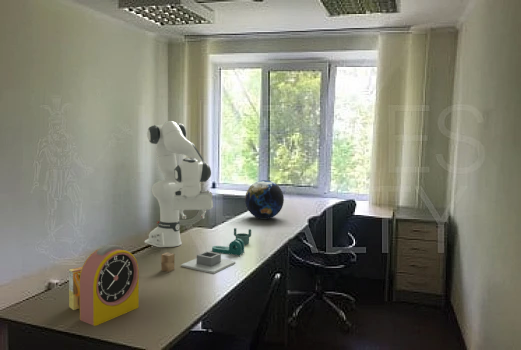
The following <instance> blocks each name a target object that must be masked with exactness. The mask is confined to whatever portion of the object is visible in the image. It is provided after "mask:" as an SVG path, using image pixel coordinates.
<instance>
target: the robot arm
mask: <svg viewBox="0 0 521 350" xmlns="http://www.w3.org/2000/svg"><path fill="white" fill-rule="evenodd" d="M146 137H147V140H148V142H149V143H150V144H153V145H156V159H157V160H156V161H157V170H158V171H159V172H160V173H161V174H162V175H163V177H164V179H162V180H161V179H160V180H159V181H156V182H155V183H153V184H152V187H151V193H152V195H153V197H154V198H155V199H156V201H158V205H159V213H160V214H159V215H160V219H159V220H158V221H157V222H156V225H157V226H156V227H155V228H153V229H152V230H151V231H150V232H149V233H148V238H147V239H145V240H144V241H143V242H144V243H145V244H148V245H151V246H153V247H157V248H173V247H179V246H182V239H181V234H180V233H181V231H180V230H181V229H180V228H181V220H180V216H181V218H182V220H186V219H187V214H184V211H202V212H201V213H202V214H200V219H201V220H204V219H205V214H206V213H207V211H209V210H210V211H211V210H212V209H213V208H214V202H213V193H212V191H210V190H201V189H202V188H201V183H204V182H205V183H206V182H207V181H208V180H209V179H210V178H211V176H212V170H211V167H210V165H209V164H208V162H206V161H205V159H204V157H203V156H202V154H201V153H200V151H199V149H198V148H197V147H196V145H195V144H194V142H192V141H190V140H188V138H187V128H186V127H185V125H184V124H183V123H178V122H176V121H173V120H169V121H166V122H164V123H163V124H158V125H155V124H154V125H151V126H149V127H148V129H147V133H146ZM177 155H183V156H187V157H185V158H183V159H181V163H180V164H178V161H177Z"/></svg>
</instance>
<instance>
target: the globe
mask: <svg viewBox="0 0 521 350" xmlns="http://www.w3.org/2000/svg"><path fill="white" fill-rule="evenodd" d="M284 200H285V199H284V193H283V191H282V189H281V188H280V186H279V185H278V184H277V183H275V182H273V181H271V180H265V179H262V180H258V181H256V182H254V183H252V184H251V185H250V186H249V187H248V189H247V190H246V193H245V198H244V201H245V206H246V208H247V210H248V212H249V213H250V214H251V215H252V216H254V217H255V218H257V219H261V220H269V219H272V218H274V217H275V216H277V215H278V214H279V213H280V212H281V211H282V209H283V206H284V202H285V201H284Z"/></svg>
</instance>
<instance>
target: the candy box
mask: <svg viewBox="0 0 521 350" xmlns="http://www.w3.org/2000/svg"><path fill="white" fill-rule="evenodd" d="M82 267H83V266H80V267H75V268H70V269H68V298H69V299H68V303H69V304H68V307H69V309H71V310H73V311H76V310H80V290H79V280H80V273H81V270H82Z"/></svg>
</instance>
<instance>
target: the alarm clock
mask: <svg viewBox="0 0 521 350" xmlns="http://www.w3.org/2000/svg"><path fill="white" fill-rule="evenodd" d="M81 267H82V270H81V273H80V280H79V290H80V308H79V321H81V322H84V323H85V324H89V325H91V326H94V327H95V326H99V325H101V324H104V323H106V322H108V321H110V320H113V319H115V318H118V317H120V316H122V315H125V314H127V313H129V312H132V311H134V310H136V309H139V307H140V306H139V304H140V303H139V301H140V300H139V299H140V298H139V297H140V296H139V289H140V278H139V277H140V276H139V275H140V274H139V270H140V269H139V264H138V261H137V258H136V257H135V256H134V254H132V252H130V251H128V250H125V249H124V248H123V246H121V245H117V244H106V245H104V246H102V247H100V248H97V249H96V250H95V251H93V252H92V253H91V254H90V255H89V256H88V257H87V258H86V260H85V262H84V264H83V265H82V266H81Z"/></svg>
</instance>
